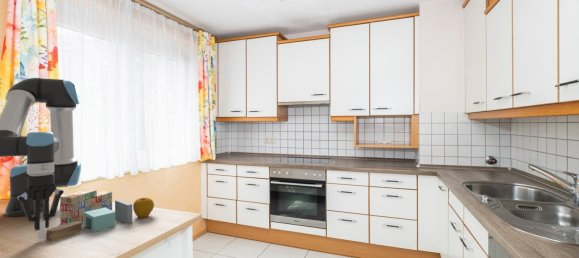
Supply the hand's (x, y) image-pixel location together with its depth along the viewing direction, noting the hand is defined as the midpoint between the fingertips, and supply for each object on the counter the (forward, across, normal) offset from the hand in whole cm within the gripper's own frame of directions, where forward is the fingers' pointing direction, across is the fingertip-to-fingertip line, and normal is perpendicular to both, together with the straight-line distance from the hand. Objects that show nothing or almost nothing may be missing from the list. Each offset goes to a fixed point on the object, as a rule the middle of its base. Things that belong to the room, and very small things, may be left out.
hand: (41, 237), depth 102 cm
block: (+1, +19, 0) cm, 19 cm away
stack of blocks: (+2, +20, +17) cm, 27 cm away
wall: (+1, +28, 0) cm, 28 cm away
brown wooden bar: (+2, +7, 0) cm, 7 cm away
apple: (+2, +36, -3) cm, 36 cm away
